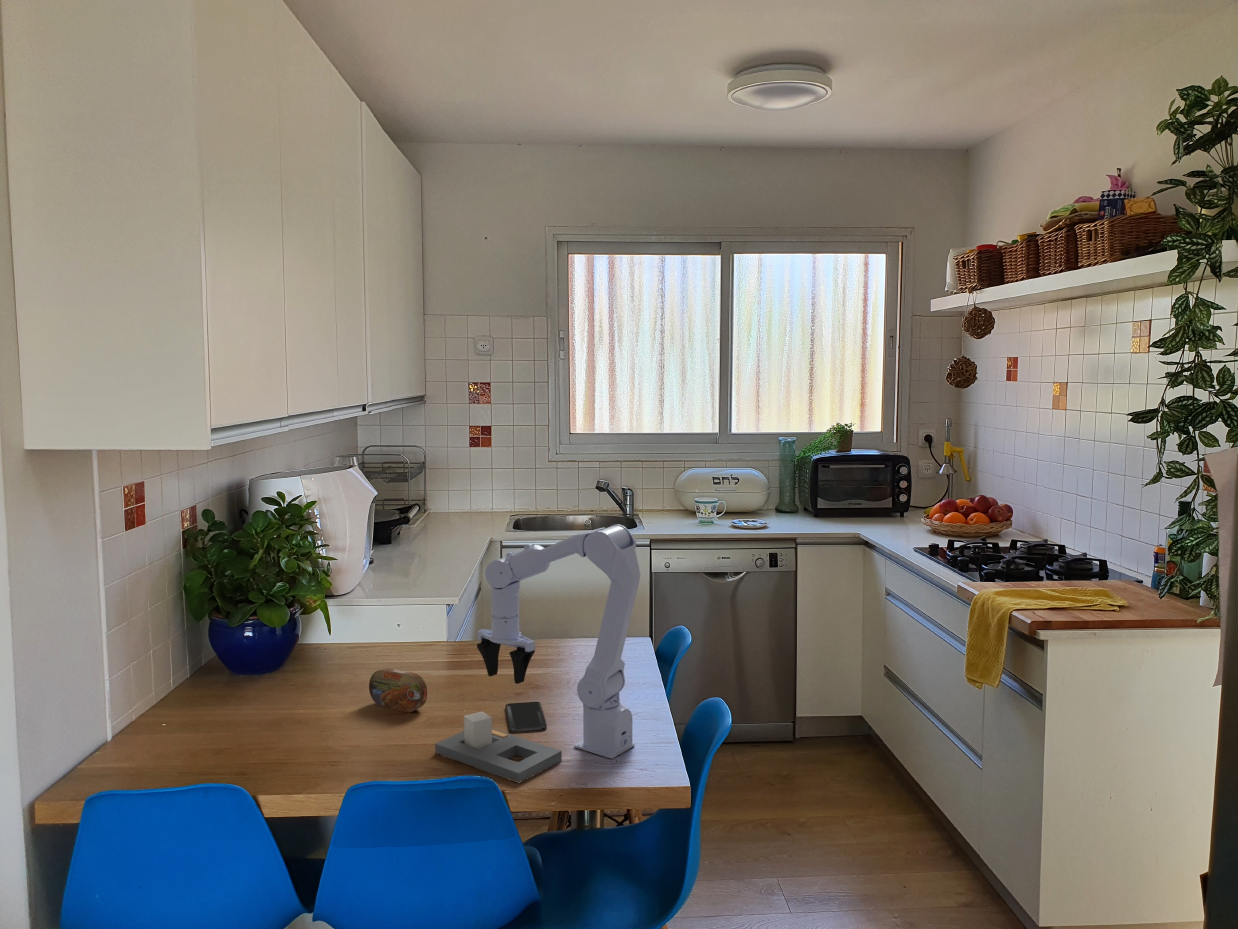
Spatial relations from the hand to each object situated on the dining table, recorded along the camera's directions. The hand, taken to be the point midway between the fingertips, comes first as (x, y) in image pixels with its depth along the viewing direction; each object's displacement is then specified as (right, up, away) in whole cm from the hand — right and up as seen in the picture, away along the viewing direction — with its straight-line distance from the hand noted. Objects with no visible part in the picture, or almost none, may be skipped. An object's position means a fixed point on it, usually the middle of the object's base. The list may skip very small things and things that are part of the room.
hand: (506, 678), depth 185 cm
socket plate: (0, -12, -14) cm, 18 cm away
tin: (-25, -10, +12) cm, 30 cm away
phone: (+4, -11, +6) cm, 13 cm away
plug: (-4, -12, -11) cm, 17 cm away
